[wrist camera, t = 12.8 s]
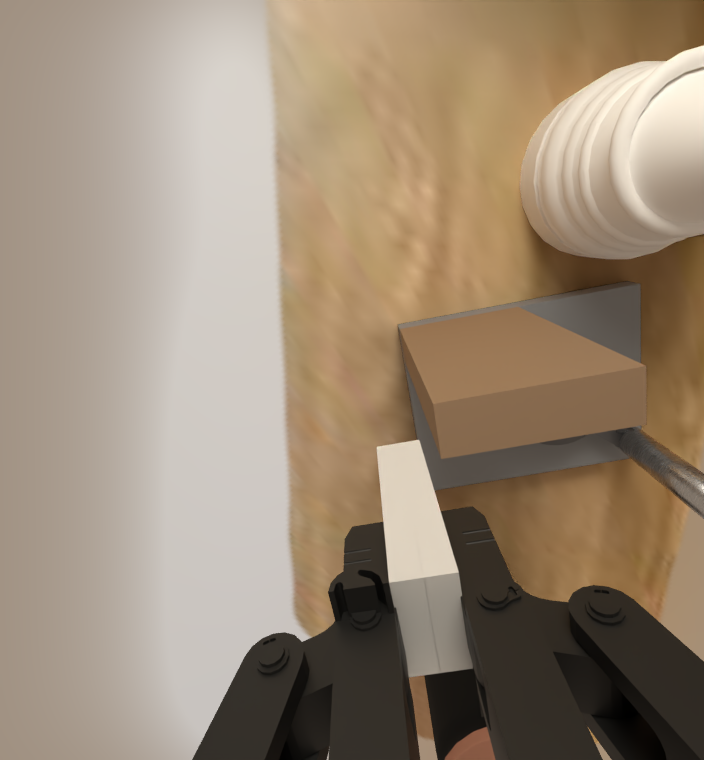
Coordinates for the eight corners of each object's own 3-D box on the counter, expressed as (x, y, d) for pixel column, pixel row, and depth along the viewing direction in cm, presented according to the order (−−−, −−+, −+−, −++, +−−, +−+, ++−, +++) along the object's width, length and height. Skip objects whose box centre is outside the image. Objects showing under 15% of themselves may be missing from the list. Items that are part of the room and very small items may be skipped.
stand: (397, 324, 41) (433, 403, 22) (626, 281, 40) (873, 325, 21) (423, 480, 46) (471, 656, 27) (629, 446, 45) (832, 606, 26)
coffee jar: (393, 607, 51) (411, 798, 34) (454, 539, 48) (508, 710, 31) (469, 650, 53) (523, 853, 35) (531, 588, 50) (623, 774, 33)
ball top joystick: (498, 449, 43) (579, 574, 27) (507, 348, 40) (604, 422, 24) (635, 448, 42) (796, 573, 27) (654, 346, 40) (847, 420, 24)
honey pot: (571, 53, 35) (777, -119, 18) (714, 125, 36) (1034, 31, 19) (491, 220, 39) (599, 211, 21) (624, 280, 40) (825, 316, 23)
